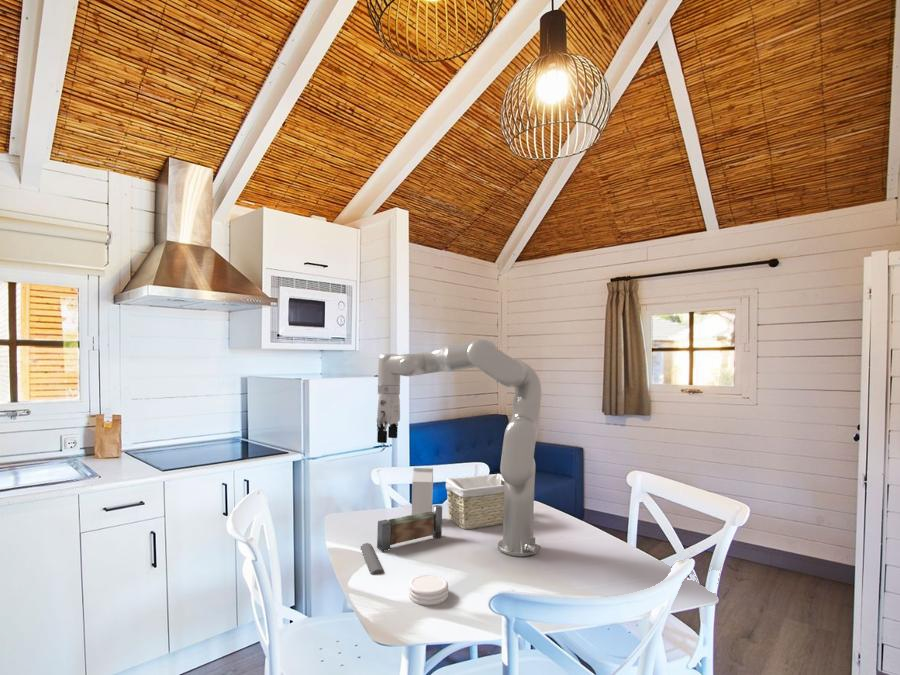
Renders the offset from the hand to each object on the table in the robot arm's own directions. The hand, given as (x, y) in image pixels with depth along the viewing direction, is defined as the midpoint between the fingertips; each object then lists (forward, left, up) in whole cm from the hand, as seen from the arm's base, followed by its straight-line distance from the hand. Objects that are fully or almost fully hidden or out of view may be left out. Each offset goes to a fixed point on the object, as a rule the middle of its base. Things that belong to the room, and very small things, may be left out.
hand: (387, 440), depth 170 cm
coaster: (-44, +11, -32) cm, 56 cm away
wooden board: (-12, -3, -30) cm, 33 cm away
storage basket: (-7, -36, -32) cm, 48 cm away
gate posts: (-12, -3, -31) cm, 34 cm away
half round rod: (-17, +14, -32) cm, 39 cm away
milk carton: (+4, -17, -31) cm, 36 cm away
